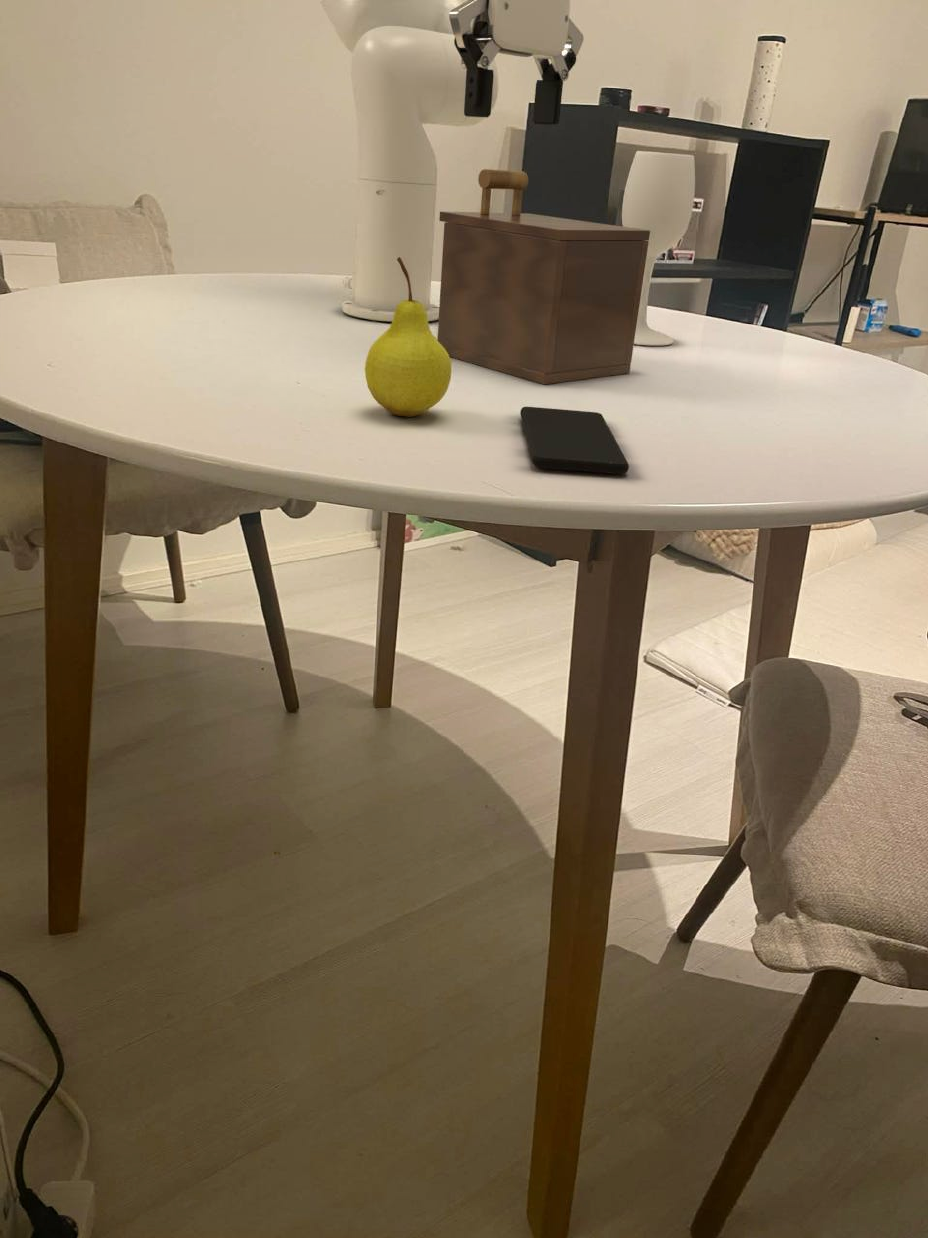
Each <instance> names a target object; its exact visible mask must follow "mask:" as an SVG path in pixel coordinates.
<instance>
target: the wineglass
mask: <svg viewBox="0 0 928 1238" xmlns="http://www.w3.org/2000/svg"><path fill="white" fill-rule="evenodd" d="M695 191H696V165H695V156H694V155H692V154H683V153H682V154H681V153H669V152H668V153H667V152H657V151H645V150H637V151H636V152H635V154H634V157H633V160H632V163H631V166H630V169H629V172H628V176H627V179H626V183H625V187H624V193H623V197H622V209H621V223H622V227H628V228H635V229H642V230H650V236H649V240H646V241H649V243H648V250H647V257H646V264H645V270H644V277H643V284H642V291H641V298H640V305H639V312H638V318H637V325H636V332H635V339H634V345H637V346H649V347H650V346H652V347H655V346H656V347H657V346H658V347H659V346H668V345H673V343H674V340H673V338H671V337H670V336H669V335H667V334H665V333H663V332H661V331H658V330H655V329H652V328H650V326H649V325H648V321H647V319H648V317H647V316H648V315H647V313H648V303H649V294H650V286H651V282H652V281H651V280H652V276H653V275H652V274H653V271H654V267H655V264H656V261H657V259H658V257H659V256H661V255H662V254H664V253H665V252H667V251H669V250H670V249H672V248H673V247H674V246H675V245H677V244H678V243H679V242H680V241H681V240H682V238H683V237H684V236H685V234H686V233H687V230H688V228H689V225H690V222H691V218H692V214H693V208H694V204H695V203H694V201H695V193H696V192H695Z"/></svg>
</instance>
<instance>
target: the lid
mask: <svg viewBox="0 0 928 1238" xmlns="http://www.w3.org/2000/svg"><path fill="white" fill-rule="evenodd" d="M477 181H478V185H479V187H480V188H481V200H480V211H479V212H476V211H475V212H474V211H470V212H469V211H439V217H438V219H439V222H443V223H445V222H449V223H455V224H461V225H468V226H474V227H480V228H486V229H492V230H499V231H505V232H511V233H517V234H524V235H530V236H536V237H542V238H548V239H555V240H649V236H650V230H642V229H635V228H628V227H623V226H621V225H620V226H619V225H613V224H606V223H600V222H599V223H598V222H592V221H585V220H579V219H578V220H577V219H570V218H563V217H556V216H549V215H542V214H535V213H525V212H524V213H523V212H522V202H523V192H524V190H526V189H527V187H528V185H529V177H528V174H527V172H526V171H523V170H522V171H521V170H505V169H488V168H484V169H482V170H480V172H479V173H478V178H477ZM492 190H506V191H507V190H508V191H513V193H512V203H511V204H512V205H511V206H512V207H511V212H490V211H491V200H492Z"/></svg>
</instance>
